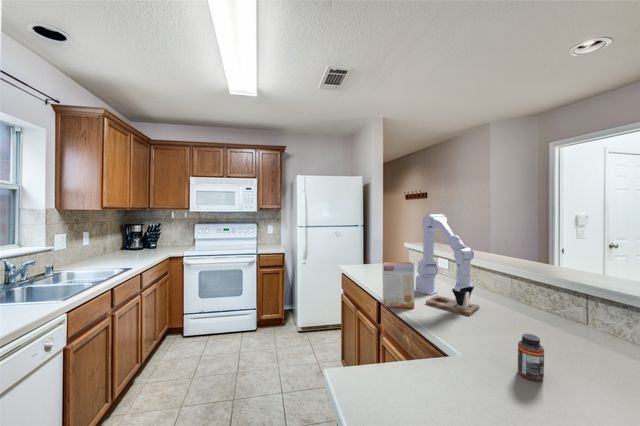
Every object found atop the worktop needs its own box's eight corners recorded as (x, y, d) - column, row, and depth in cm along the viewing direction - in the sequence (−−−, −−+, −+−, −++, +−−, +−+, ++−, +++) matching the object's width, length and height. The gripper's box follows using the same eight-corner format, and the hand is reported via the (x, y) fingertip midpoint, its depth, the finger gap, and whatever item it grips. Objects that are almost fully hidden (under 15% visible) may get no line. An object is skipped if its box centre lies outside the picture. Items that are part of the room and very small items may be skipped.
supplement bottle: (518, 366, 83) (518, 329, 83) (543, 374, 79) (544, 335, 79) (516, 376, 79) (517, 337, 78) (543, 385, 75) (544, 343, 74)
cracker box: (411, 304, 135) (411, 261, 135) (414, 308, 129) (414, 264, 129) (382, 303, 137) (382, 261, 136) (384, 307, 131) (384, 264, 130)
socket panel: (425, 304, 135) (425, 301, 135) (436, 298, 143) (436, 295, 143) (469, 316, 121) (469, 312, 120) (479, 308, 129) (479, 305, 129)
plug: (456, 309, 128) (456, 292, 128) (460, 307, 131) (460, 290, 131) (465, 311, 125) (466, 294, 125) (469, 309, 128) (469, 292, 128)
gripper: (466, 278, 120) (466, 309, 120) (478, 272, 130) (478, 301, 130) (450, 275, 125) (449, 305, 125) (462, 270, 135) (462, 297, 135)
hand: (463, 303), depth 128 cm, fingers open, 7 cm apart
